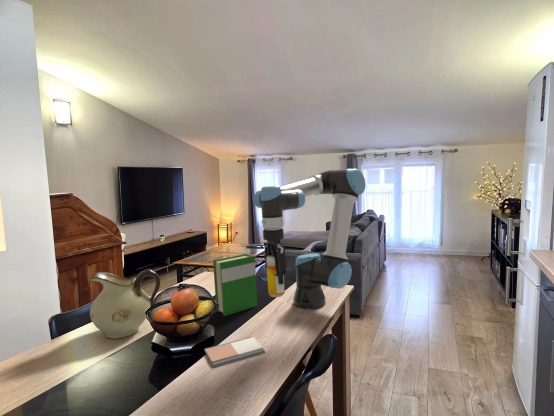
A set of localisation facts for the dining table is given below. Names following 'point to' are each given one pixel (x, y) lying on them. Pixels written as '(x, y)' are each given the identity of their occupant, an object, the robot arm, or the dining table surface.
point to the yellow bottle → (272, 277)
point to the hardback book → (235, 283)
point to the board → (233, 351)
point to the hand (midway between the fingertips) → (276, 289)
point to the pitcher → (121, 303)
